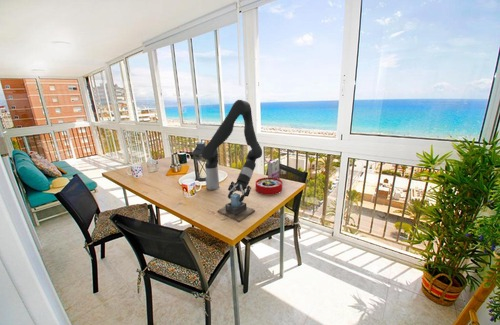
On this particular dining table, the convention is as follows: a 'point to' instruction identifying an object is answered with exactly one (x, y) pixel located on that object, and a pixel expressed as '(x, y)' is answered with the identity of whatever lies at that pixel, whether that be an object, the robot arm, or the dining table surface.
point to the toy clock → (268, 186)
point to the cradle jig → (236, 211)
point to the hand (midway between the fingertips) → (234, 200)
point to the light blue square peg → (235, 200)
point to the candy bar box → (273, 168)
